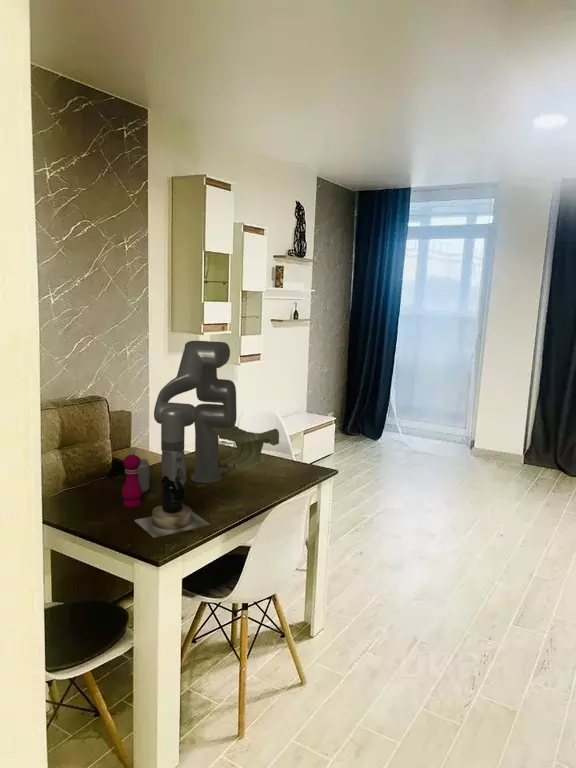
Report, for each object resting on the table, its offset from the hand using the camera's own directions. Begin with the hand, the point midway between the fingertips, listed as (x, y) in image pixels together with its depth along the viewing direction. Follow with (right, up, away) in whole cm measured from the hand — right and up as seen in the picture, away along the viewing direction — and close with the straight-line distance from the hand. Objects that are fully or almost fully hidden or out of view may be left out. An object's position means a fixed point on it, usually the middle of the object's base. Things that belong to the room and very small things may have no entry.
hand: (172, 495), depth 200 cm
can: (-19, -4, +32) cm, 37 cm away
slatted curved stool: (+17, +1, +72) cm, 74 cm away
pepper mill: (-18, -7, +17) cm, 25 cm away
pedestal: (0, -10, +1) cm, 10 cm away
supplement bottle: (0, -5, +1) cm, 5 cm away
